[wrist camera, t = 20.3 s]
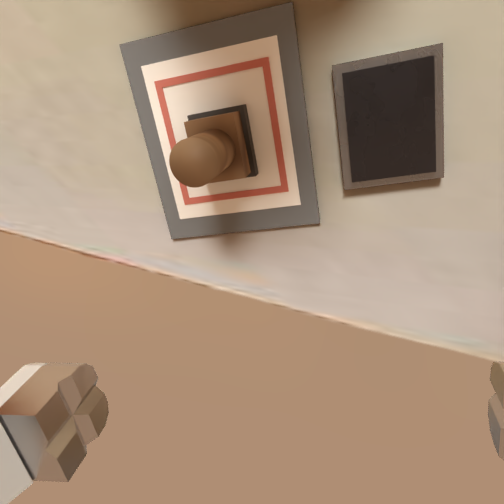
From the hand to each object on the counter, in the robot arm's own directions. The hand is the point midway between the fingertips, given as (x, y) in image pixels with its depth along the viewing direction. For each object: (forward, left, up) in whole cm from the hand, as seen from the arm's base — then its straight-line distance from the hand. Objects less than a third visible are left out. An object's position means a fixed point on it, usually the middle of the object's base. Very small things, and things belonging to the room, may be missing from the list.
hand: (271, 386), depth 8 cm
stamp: (-2, -9, -29) cm, 31 cm away
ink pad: (-2, +5, -30) cm, 30 cm away
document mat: (-3, -9, -30) cm, 31 cm away
